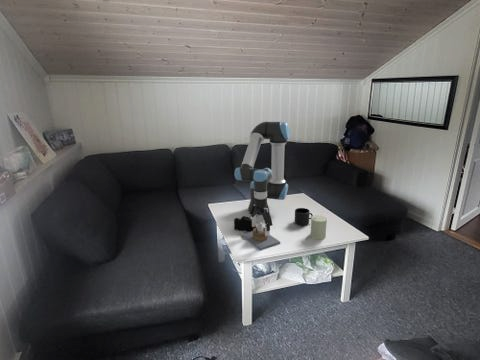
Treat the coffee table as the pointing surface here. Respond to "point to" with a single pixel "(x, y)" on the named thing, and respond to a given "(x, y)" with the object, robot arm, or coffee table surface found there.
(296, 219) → the mug
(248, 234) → the post board
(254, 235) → the collar
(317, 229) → the can
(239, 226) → the film camera
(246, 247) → the coffee table surface
